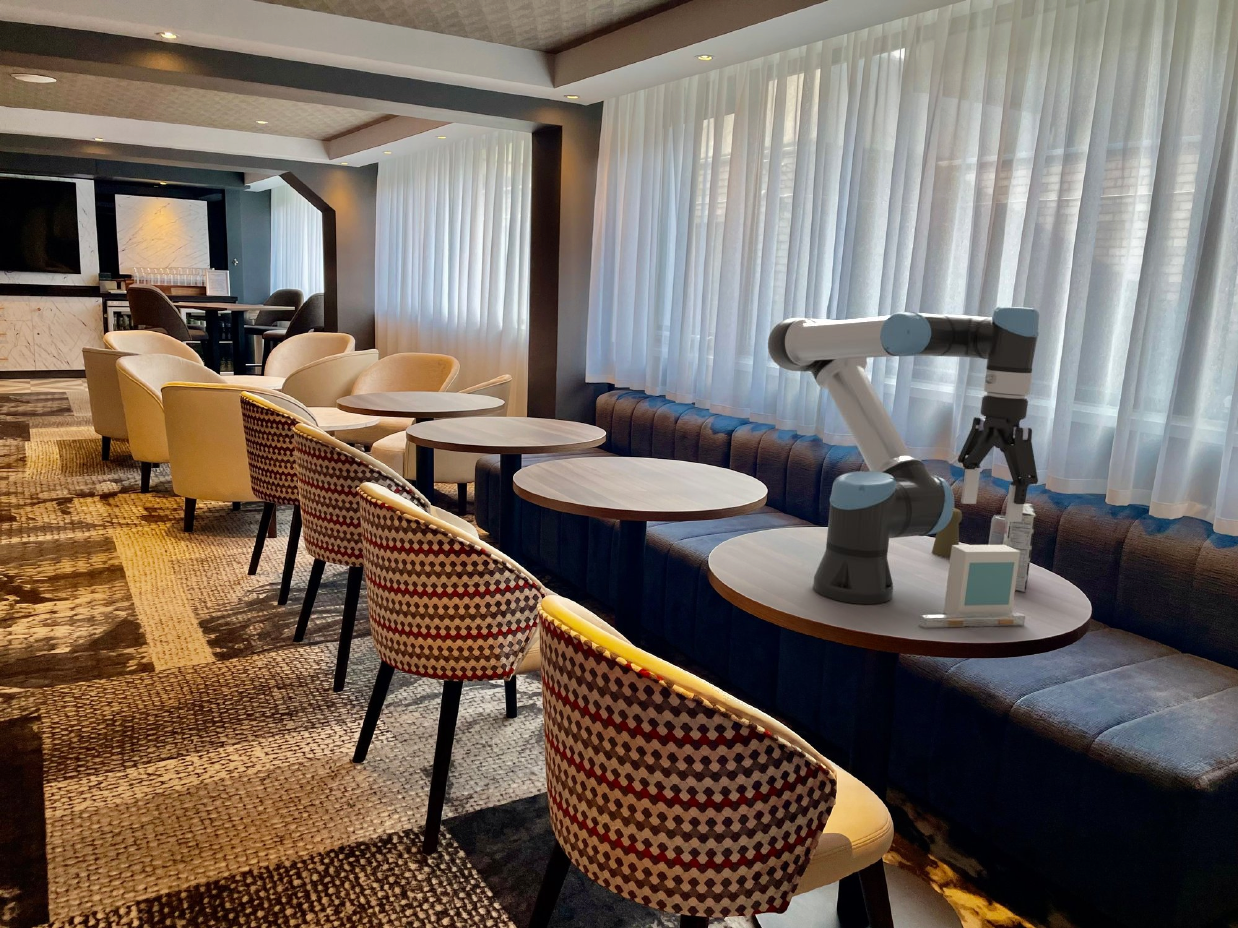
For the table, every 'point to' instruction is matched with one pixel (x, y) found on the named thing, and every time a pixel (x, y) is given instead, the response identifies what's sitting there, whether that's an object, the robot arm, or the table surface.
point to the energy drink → (997, 530)
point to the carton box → (981, 579)
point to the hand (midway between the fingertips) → (989, 512)
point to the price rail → (972, 620)
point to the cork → (948, 536)
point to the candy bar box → (1021, 543)
